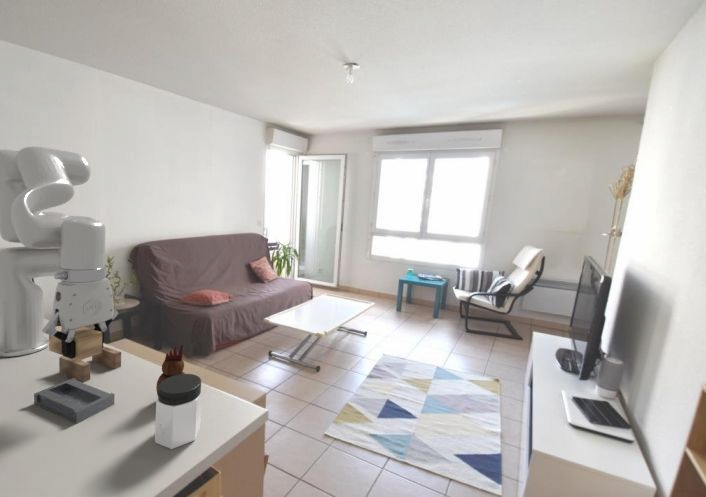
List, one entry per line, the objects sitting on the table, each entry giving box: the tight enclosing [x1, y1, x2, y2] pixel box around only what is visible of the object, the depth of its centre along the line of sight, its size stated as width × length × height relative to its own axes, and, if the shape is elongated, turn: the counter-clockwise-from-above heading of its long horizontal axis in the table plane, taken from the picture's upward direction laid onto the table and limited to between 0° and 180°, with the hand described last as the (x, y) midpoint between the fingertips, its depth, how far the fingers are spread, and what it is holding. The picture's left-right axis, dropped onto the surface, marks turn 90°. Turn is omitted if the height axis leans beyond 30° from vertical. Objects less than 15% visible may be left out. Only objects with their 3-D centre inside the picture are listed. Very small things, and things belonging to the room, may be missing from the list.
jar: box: [154, 373, 203, 450], centre depth 69 cm, size 9×8×12 cm
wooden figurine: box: [155, 343, 186, 396], centre depth 80 cm, size 7×6×15 cm
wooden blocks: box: [58, 345, 122, 383], centre depth 91 cm, size 10×10×4 cm
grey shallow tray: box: [33, 377, 115, 424], centre depth 76 cm, size 15×8×3 cm, turn 71°
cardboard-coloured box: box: [48, 326, 102, 361], centre depth 74 cm, size 10×5×5 cm, turn 71°
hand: (83, 351), depth 73 cm, fingers closed on cardboard-coloured box, 5 cm apart
